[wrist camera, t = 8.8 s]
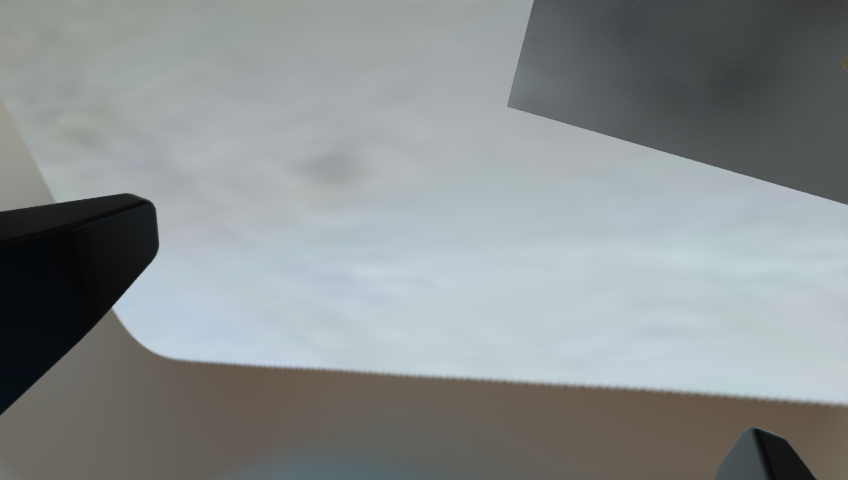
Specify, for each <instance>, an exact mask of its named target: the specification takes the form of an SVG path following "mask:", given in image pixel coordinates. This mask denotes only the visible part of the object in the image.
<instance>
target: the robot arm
mask: <svg viewBox="0 0 848 480" xmlns="http://www.w3.org/2000/svg"><path fill="white" fill-rule="evenodd" d="M158 249H159V236H158V225H157V214H156V208H155V206H154V204H153V203H152V202H151V201H149V200H147V199H145V198H142V197H139V196H137V195H134V194H129V193H124V194H117V195H110V196H103V197H97V198H90V199H83V200H76V201H70V202H63V203H56V204H49V205H43V206H36V207H29V208H22V209H16V210H9V211H2V212H0V415H1V414H3V413H4V412H5V411H6V410H7V409H8V408H9V407H10V406H11V405H12V404H13V403H14V402H15V401H16V400H18V399H19V398H20V397H21V396H22V395H23V394H24V393H25V392H26V391H27V390H28V389H29V388H30V387H31V386H32V385H34V384H35V382H37V381H38V380H39V379H40V378H41V377H42V376H43V375H44V374H45V373H46V372H47V371H48V370H49V369H51V368H52V367H53V366H54V365H55V364H56V363H57V362H58V361H59V360H60V359H61V358H62V357H63V356H64V355H65V354H67V353H68V351H70V350H71V349H72V348H73V347H74V346H75V345H76V344H77V343H78V342H79V341H80V340H81V339H82V338H83V337H84V336H86V334H87V333H88V332H90V331H91V330H92V329H93V328H94V326H95V325H96V324H97V323H98V322H99V321H100V320H101V319H102V318H103V316H104V315H105V314H106V313H107V312H108V311H109V310H110V309H111V308H112V306H113V305H114V304H115V303H116V302H117V301H118V300H119V298H120V297H121V296H122V295H123V294H124V293H125V292H126V290H127V289H128V288H129V287H130V286H131V285H132V284H133V282H134V281H135V280H136V279H137V278H138V277H139V276H140V274H141V273H142V272H143V271H144V270H145V269H146V268H147V266H148V265H149V264H150V263H151V262H152V261H153V259H154V258H155V256H156V255H157V252H158ZM714 480H817V479H816V477H815V476H814V475H813V473H812V472H811V471H810V469H809V468H808V467H807V466H806V464H805V463H804V461H803V460H802V459H801V458H800V456H799V455H798V453H797V452H796V451H795V450H794V448H793V447H792V446H791V445H790V443H789V442H788V441H787V440H786V439H785V438H783V437H781V436H779V435H777V434H774V433H771V432H769V431H766V430H763V429H761V428H758V427H748V428H747V429H746V430H744V431H743V432H742V434H741V435H740V437H739V438H738V439H737V441H736V442H735V444H734V445H733V446H732V448H731V449H730V451H729V452H728V454H727V455H726V456H725V458H724V459H723V461H722V462H721V464H720V465H719V467H718V469H717V472H716V475H715V479H714Z"/></svg>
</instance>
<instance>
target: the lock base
mask: <svg viewBox="0 0 848 480" xmlns="http://www.w3.org/2000/svg"><path fill="white" fill-rule="evenodd" d="M847 53H848V0H534V2H533V6H532V10H531V14H530V18H529V22H528V26H527V30H526V34H525V38H524V42H523V46H522V49H521V53H520V57H519V61H518V65H517V69H516V73H515V77H514V81H513V85H512V89H511V93H510V96H509V100H508V104H507V106H508V107H511V108H515V109H518V110H521V111H525V112H528V113H532V114H535V115H539V116H542V117H546V118H549V119H553V120H556V121H560V122H563V123H566V124H570V125H573V126H577V127H580V128H584V129H587V130H591V131H594V132H598V133H601V134H605V135H608V136H612V137H615V138H618V139H622V140H625V141H629V142H632V143H636V144H639V145H643V146H646V147H650V148H653V149H657V150H660V151H663V152H667V153H670V154H674V155H677V156H681V157H684V158H688V159H691V160H695V161H698V162H702V163H705V164H709V165H712V166H715V167H719V168H722V169H726V170H729V171H733V172H736V173H740V174H743V175H747V176H750V177H754V178H757V179H760V180H764V181H767V182H771V183H774V184H778V185H781V186H785V187H788V188H792V189H795V190H799V191H802V192H805V193H809V194H812V195H816V196H819V197H823V198H826V199H830V200H833V201H837V202H840V203H844V204H847V205H848V72H847V71H846V70H845V69H844V68H843V67H842V66H841V65H840V64H839V62H840V61H841V60H842V59H843V58H844V57H845V55H846V54H847Z"/></svg>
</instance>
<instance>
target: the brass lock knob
mask: <svg viewBox="0 0 848 480" xmlns="http://www.w3.org/2000/svg"><path fill="white" fill-rule="evenodd" d="M839 64H840V65H841V66H842V67H843V68H844V69H845V70H846V71H847V72H848V53H847V54H846V55H845V57H844V58H843V59H842V60H841V61H840V62H839Z"/></svg>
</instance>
